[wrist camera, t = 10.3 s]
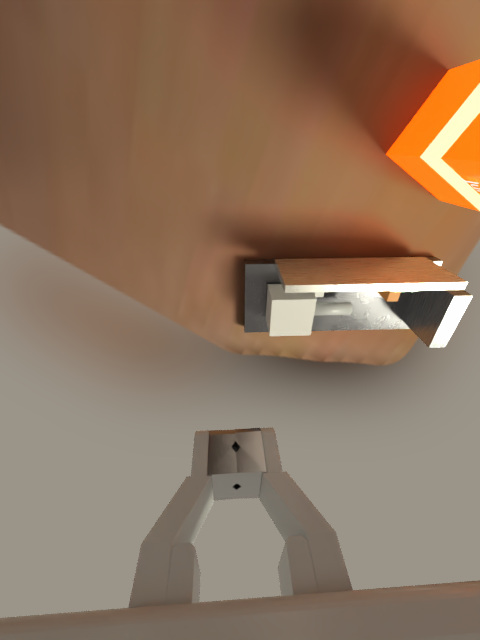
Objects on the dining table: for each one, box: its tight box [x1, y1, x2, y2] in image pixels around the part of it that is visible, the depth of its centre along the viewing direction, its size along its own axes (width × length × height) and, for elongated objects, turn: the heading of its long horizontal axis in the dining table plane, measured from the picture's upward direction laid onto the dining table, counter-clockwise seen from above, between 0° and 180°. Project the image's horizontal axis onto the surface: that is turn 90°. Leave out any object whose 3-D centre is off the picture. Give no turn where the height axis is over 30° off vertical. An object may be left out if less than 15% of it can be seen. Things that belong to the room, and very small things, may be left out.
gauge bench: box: [244, 257, 473, 348], centre depth 32 cm, size 24×11×8 cm, turn 90°
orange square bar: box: [377, 291, 401, 302], centre depth 31 cm, size 1×1×5 cm
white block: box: [266, 284, 352, 336], centre depth 32 cm, size 10×7×4 cm, turn 90°
